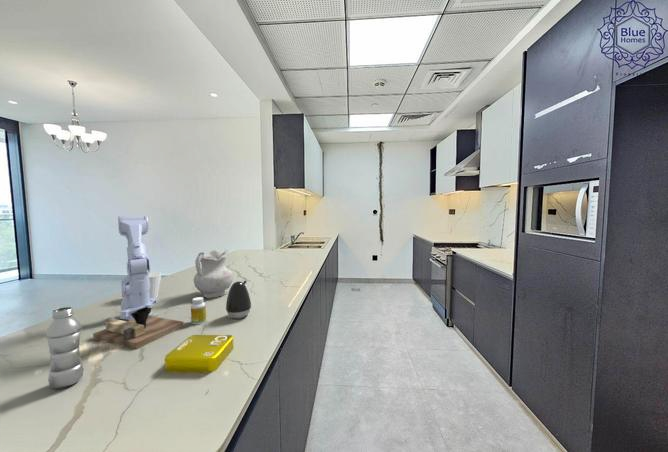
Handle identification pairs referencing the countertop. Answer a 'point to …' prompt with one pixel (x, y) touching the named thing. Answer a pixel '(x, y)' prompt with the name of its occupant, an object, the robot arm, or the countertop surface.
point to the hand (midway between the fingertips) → (141, 328)
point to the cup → (154, 283)
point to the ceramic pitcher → (212, 274)
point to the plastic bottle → (64, 349)
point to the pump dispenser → (238, 300)
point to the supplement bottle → (198, 311)
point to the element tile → (199, 354)
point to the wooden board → (152, 332)
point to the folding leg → (123, 326)
